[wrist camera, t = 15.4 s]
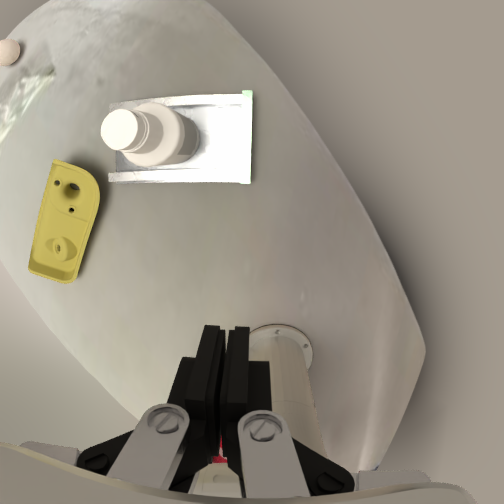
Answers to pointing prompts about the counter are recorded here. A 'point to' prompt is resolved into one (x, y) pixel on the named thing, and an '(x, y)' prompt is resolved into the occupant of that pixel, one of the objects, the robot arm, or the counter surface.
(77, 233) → the plastic component
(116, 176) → the rail cradle
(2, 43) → the egg
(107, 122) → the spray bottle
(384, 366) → the counter surface
